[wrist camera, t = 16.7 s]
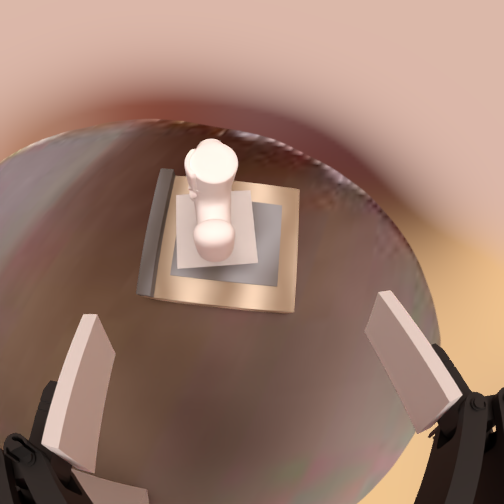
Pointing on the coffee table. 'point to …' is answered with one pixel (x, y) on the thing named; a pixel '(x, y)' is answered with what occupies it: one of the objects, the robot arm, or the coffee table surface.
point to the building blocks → (110, 490)
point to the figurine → (214, 211)
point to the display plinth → (228, 276)
